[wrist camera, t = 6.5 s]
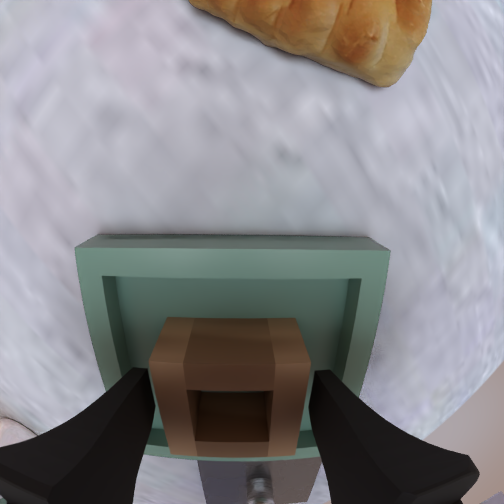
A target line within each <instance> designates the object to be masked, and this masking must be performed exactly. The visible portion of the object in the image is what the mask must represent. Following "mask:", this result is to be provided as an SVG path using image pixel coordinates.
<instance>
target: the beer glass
mask: <svg viewBox="0 0 504 504" xmlns="http://www.w3.org/2000/svg"><path fill="white" fill-rule="evenodd" d="M36 436H37V435H36V434H34V433H33V432H32V431H30V430H29V429H28V428H26V427H25V426H23V425H21V424H20V423H18V422H16V421H14V420H11V419H7V418H2V419H0V447H3V446H7V445H11V444H15V443H19V442H22V441H25V440H28V439H31V438H34V437H36ZM0 504H7V501H6V500H5V499H4V498H3V497H2V496H1V495H0Z"/></svg>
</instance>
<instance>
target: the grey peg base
mask: <svg viewBox="0 0 504 504" xmlns="http://www.w3.org/2000/svg"><path fill="white" fill-rule="evenodd" d="M197 461H198V466H199V471H200V476H201V481H202V486H203V490H204V495H205V499H206V504H288V503H298V502H307V500H308V498H309V495H310V493H311V490H312V487H313V485H314V482H315V479H316V476H317V474H318V471H319V468H320V465H321V462H322V460H321V457H311V458H302V459H290V460H274V461H205V460H197Z"/></svg>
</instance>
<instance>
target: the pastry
mask: <svg viewBox="0 0 504 504" xmlns="http://www.w3.org/2000/svg"><path fill="white" fill-rule="evenodd" d="M189 2H190V3H191V4H192V5H193V6H194V7H196V8H198V9H202V10H205V11H207V12H209V13H210V14H212V15H214V16H216V17H220V18H223V19H224V20H226V21H227V22H228V23H229V24H231V25H232V26H233V27H235V28H238V29H241V30H244V31H246V32H248V33H250V34H252V35H253V36H255V37H256V38H258V39H259V40H260V41H261V42H262V43H263V44H265V45H266V46H270V47H277V48H279V49H281V50H283V51H286V52H289V53H291V54H295V55H301V56H304V57H307V58H309V59H311V60H313V61H315V62H318V63H319V64H322V65H324V66H326V67H329V68H332V69H334V70H336V71H339V72H343V73H345V74H347V75H349V76H352V77H356V78H361V79H362V80H364V81H366V82H368V83H371V84H373V85H375V86H378V87H390V86H391V85H393V84H395V83H396V82H397V81H398V80H399V79H400V77H401V76H402V75H403V74H404V72H405V71H406V69H407V68H408V67H409V66H410V64H411V62H412V60H413V55H414V52H415V50H416V48H417V47H418V46H419V44H420V43H421V42H422V40H423V38H424V36H425V34H426V33H427V31H426V30H427V28H428V23H429V19H430V14H431V6H432V0H189Z"/></svg>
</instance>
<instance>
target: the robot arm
mask: <svg viewBox="0 0 504 504" xmlns="http://www.w3.org/2000/svg"><path fill="white" fill-rule="evenodd" d="M155 407H156V405H155V400H154V396H153V392H152V387H151V382H150V378H149V373H148V368H137V367H133V368H132V369H130V370H129V371H128V372H127V373H126V374H125V375H124V376H123V377H122V378H121V379H120V380H118V381H117V382H116V383H115V384H114V385H113V386H112V387H111V388H110V389H109V390H108V391H106V392H105V393H104V394H103V395H102V396H101V397H100V398H98V399H97V400H96V401H95V402H93V403H92V404H91V405H90V406H88V407H87V408H86V409H85V410H83V411H82V412H80V413H79V414H78V415H76V416H75V417H73V418H71V419H70V420H68V421H67V422H65V423H63V424H61V425H59V426H57V427H55V428H53V429H52V430H50V431H48V432H45V433H43V434H41V435H39V436H36V437H34V438H31V439H28V440H25V441H22V442H19V443H15V444H11V445H7V446H3V447H0V495H1V496H2V497H3V498H4V499H5V500H6V501H7V504H133V497H134V490H135V484H136V478H137V474H138V470H139V467H140V463H141V460H142V457H143V454H144V451H145V448H146V444H147V441H148V438H149V435H150V432H151V429H152V424H153V419H154V413H155ZM308 410H309V416H310V422H311V428H312V431H313V435H314V438H315V441H316V444H317V447H318V451H319V454H320V457H321V460H322V463H323V466H324V469H325V473H326V477H327V480H328V486H329V491H330V497H331V503H332V504H463V503H462V501H461V498H462V497H463V496H464V495H465V494H466V493H467V491H469V489H470V488H471V487H472V486H473V485H474V484H475V483H476V481H477V479H478V477H479V475H480V474H479V471H478V469H477V467H476V466H475V464H474V463H473V461H472V460H471V458H470V457H469V456H468V455H465V454H461V453H457V452H453V451H449V450H446V449H443V448H440V447H437V446H434V445H432V444H429V443H427V442H425V441H422V440H420V439H418V438H416V437H414V436H412V435H410V434H408V433H406V432H404V431H403V430H401V429H399V428H398V427H396V426H394V425H393V424H391V423H390V422H388V421H387V420H385V419H384V418H383V417H381V416H380V415H379V414H377V413H376V412H375V411H373V410H372V409H371V408H370V407H368V406H367V405H366V404H365V403H364V402H363V401H362V400H361V399H359V398H358V397H357V396H356V395H355V394H354V393H353V392H352V391H351V390H350V389H349V388H348V387H347V386H346V385H345V384H344V383H343V382H342V381H341V380H340V379H339V378H338V377H337V376H336V375H335V374H334V373H333V372H332V371H331V370H330V369H328V370H315V372H314V378H313V384H312V389H311V395H310V400H309V405H308ZM481 504H504V494H503V493H502V492H498V493H497V494H495V495H494V496H492V497H490V498H489V499H487V500H485V501H484V502H482V503H481Z"/></svg>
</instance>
